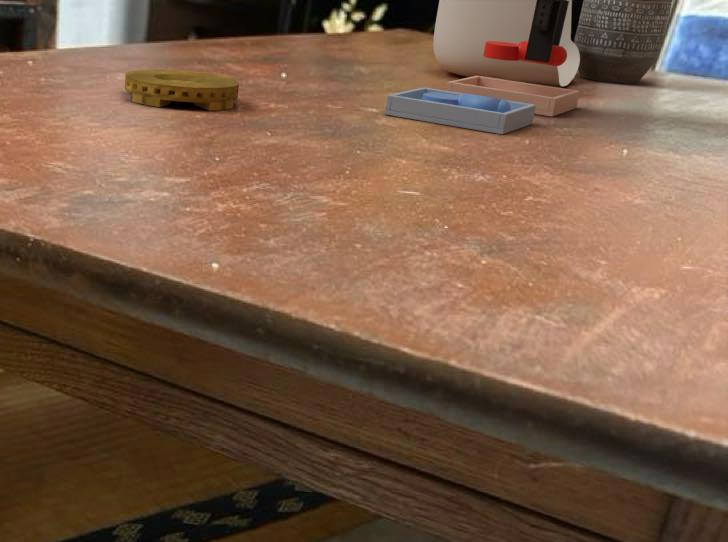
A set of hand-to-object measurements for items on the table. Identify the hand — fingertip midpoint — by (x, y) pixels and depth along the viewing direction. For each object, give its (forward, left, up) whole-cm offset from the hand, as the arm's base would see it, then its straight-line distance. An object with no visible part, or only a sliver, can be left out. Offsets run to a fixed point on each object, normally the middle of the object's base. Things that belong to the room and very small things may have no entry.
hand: (540, 59), depth 130 cm
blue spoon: (+2, +18, -5) cm, 19 cm away
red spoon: (+2, 0, 0) cm, 2 cm away
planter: (+1, -42, -5) cm, 42 cm away
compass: (+27, +36, -5) cm, 45 cm away
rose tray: (+2, 0, -5) cm, 6 cm away
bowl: (+12, -23, -5) cm, 26 cm away
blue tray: (+2, +18, -5) cm, 19 cm away
